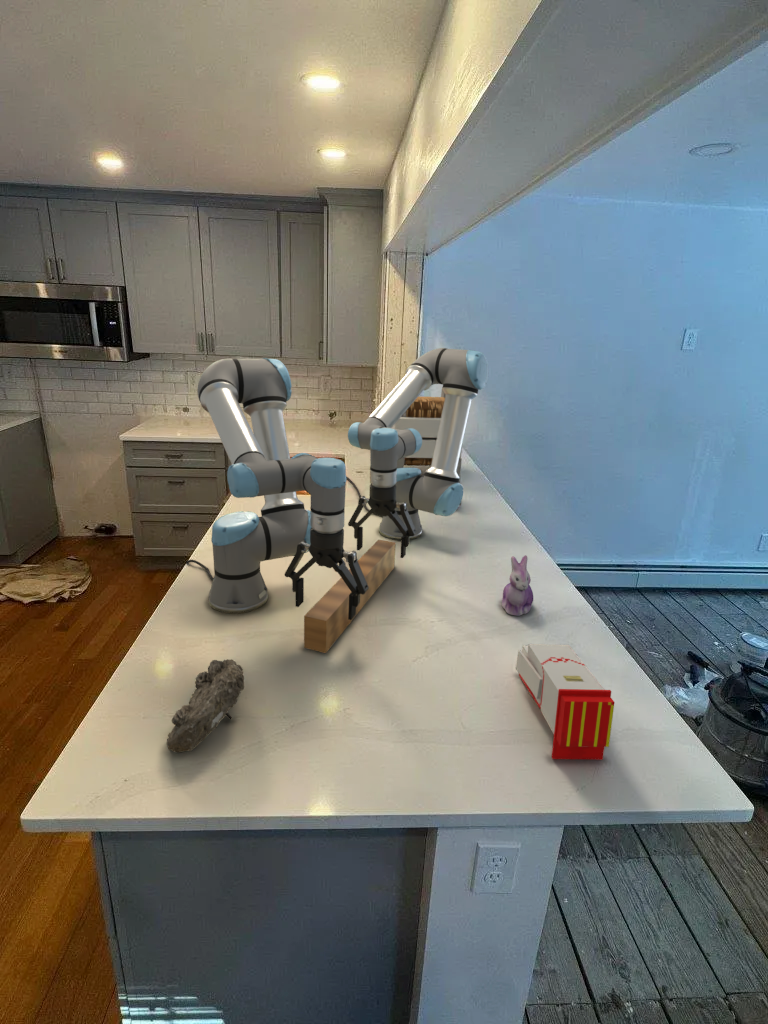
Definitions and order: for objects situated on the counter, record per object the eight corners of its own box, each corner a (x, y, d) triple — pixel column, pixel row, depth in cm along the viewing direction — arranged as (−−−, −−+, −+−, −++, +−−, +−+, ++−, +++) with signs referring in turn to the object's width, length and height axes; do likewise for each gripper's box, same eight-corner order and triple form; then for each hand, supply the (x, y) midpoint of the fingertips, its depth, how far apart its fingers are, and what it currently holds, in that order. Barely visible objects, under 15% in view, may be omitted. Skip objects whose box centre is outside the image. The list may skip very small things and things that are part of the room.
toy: (564, 626, 126) (624, 698, 97) (558, 682, 129) (615, 767, 100) (510, 625, 126) (554, 696, 96) (506, 681, 128) (547, 766, 99)
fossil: (192, 660, 117) (244, 628, 112) (224, 691, 120) (276, 661, 115) (142, 746, 98) (202, 712, 93) (182, 779, 101) (242, 748, 96)
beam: (377, 564, 175) (378, 539, 172) (394, 567, 174) (395, 542, 171) (304, 647, 131) (303, 615, 128) (325, 653, 129) (326, 620, 127)
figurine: (515, 620, 147) (523, 568, 141) (491, 602, 155) (497, 552, 150) (543, 613, 151) (551, 562, 146) (518, 596, 159) (525, 547, 154)
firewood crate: (382, 463, 289) (386, 382, 275) (445, 464, 293) (451, 384, 279) (390, 482, 257) (394, 392, 243) (460, 483, 261) (468, 394, 247)
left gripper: (269, 523, 127) (270, 606, 134) (373, 544, 119) (368, 630, 127) (285, 512, 133) (286, 592, 141) (385, 531, 126) (380, 614, 134)
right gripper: (336, 482, 160) (337, 550, 168) (421, 494, 152) (418, 564, 160) (347, 474, 167) (347, 540, 174) (429, 485, 159) (425, 554, 167)
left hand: (325, 610), depth 134 cm, fingers open, 13 cm apart
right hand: (381, 552), depth 167 cm, fingers open, 13 cm apart
